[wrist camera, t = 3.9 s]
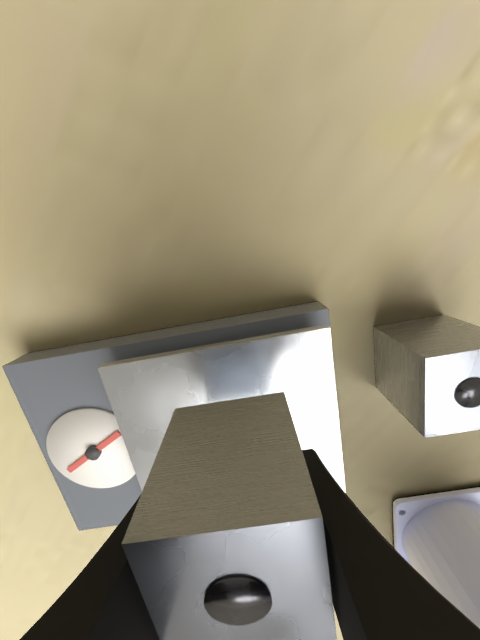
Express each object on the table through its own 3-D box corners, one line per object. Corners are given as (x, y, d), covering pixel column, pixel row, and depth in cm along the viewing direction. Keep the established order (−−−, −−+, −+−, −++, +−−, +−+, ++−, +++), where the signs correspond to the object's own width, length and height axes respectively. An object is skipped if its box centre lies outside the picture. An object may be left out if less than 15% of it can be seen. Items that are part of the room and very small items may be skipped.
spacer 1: (296, 479, 12) (338, 650, 7) (198, 493, 12) (169, 669, 7) (283, 391, 10) (323, 520, 5) (175, 408, 11) (119, 547, 6)
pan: (333, 475, 19) (347, 511, 16) (169, 499, 19) (158, 537, 17) (315, 314, 16) (330, 327, 13) (119, 348, 16) (97, 367, 14)
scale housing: (335, 468, 20) (349, 499, 17) (93, 504, 21) (74, 538, 18) (317, 301, 16) (331, 310, 14) (28, 352, 17) (-6, 370, 15)
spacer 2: (440, 376, 18) (516, 425, 13) (375, 386, 18) (425, 438, 13) (442, 314, 17) (526, 342, 12) (372, 326, 17) (426, 358, 12)
